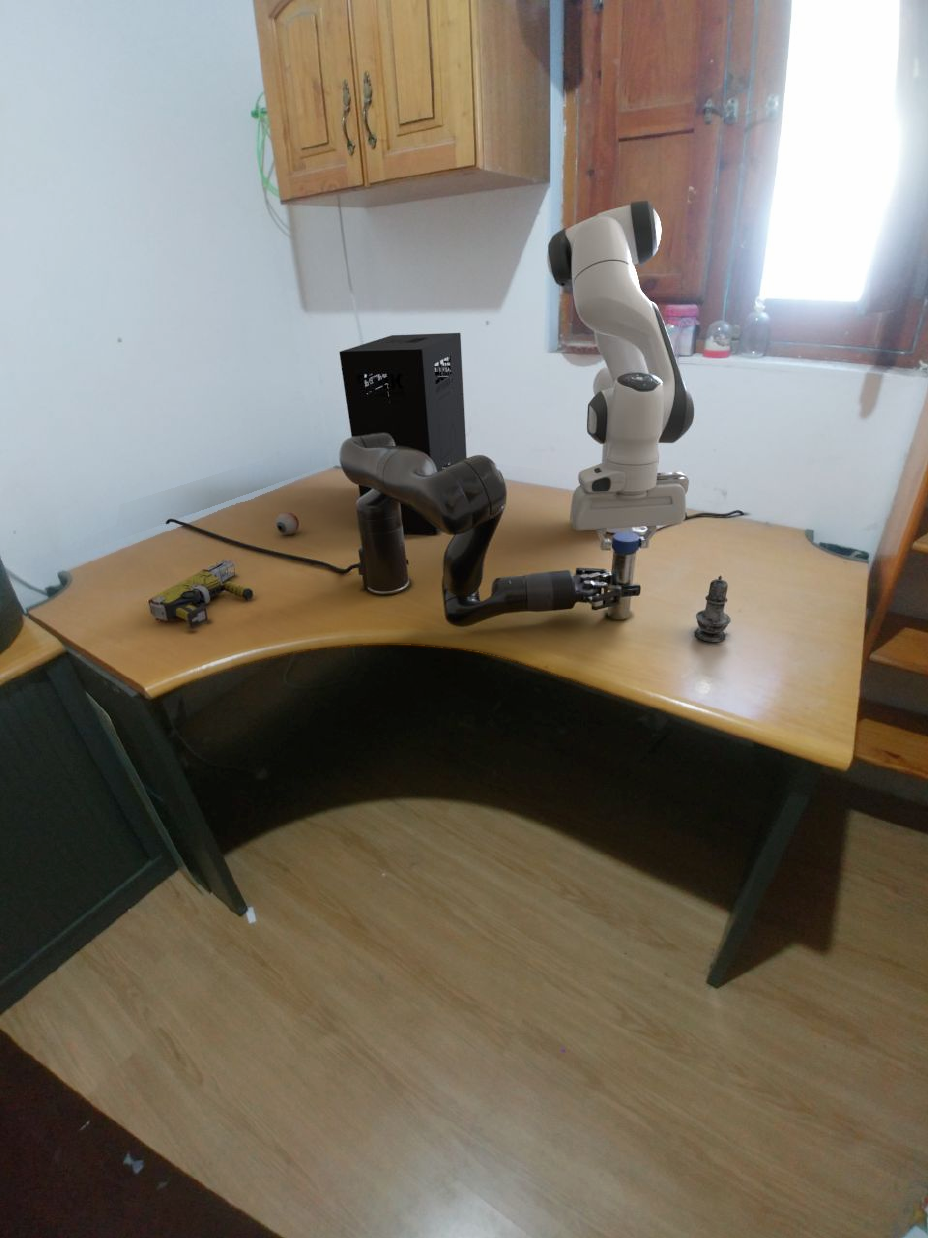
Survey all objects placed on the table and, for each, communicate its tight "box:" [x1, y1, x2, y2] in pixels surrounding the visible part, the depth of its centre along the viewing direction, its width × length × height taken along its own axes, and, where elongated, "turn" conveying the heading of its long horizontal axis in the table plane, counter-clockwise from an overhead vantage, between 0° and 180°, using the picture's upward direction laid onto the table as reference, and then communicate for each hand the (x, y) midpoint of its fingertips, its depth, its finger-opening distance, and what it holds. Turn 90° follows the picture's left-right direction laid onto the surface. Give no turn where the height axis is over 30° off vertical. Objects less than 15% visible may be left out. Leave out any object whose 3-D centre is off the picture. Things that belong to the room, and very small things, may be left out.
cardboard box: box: [339, 332, 468, 535], centre depth 166 cm, size 38×20×45 cm, turn 167°
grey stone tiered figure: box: [694, 575, 731, 643], centre depth 107 cm, size 6×6×12 cm
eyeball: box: [275, 511, 300, 536], centre depth 163 cm, size 6×6×6 cm
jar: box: [606, 549, 637, 621], centre depth 115 cm, size 4×4×16 cm
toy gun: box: [148, 558, 254, 629], centre depth 131 cm, size 5×24×15 cm
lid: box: [611, 532, 640, 553], centre depth 111 cm, size 5×5×2 cm
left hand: (635, 583), depth 116 cm, fingers closed on jar, 4 cm apart
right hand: (624, 548), depth 112 cm, fingers open, 6 cm apart
